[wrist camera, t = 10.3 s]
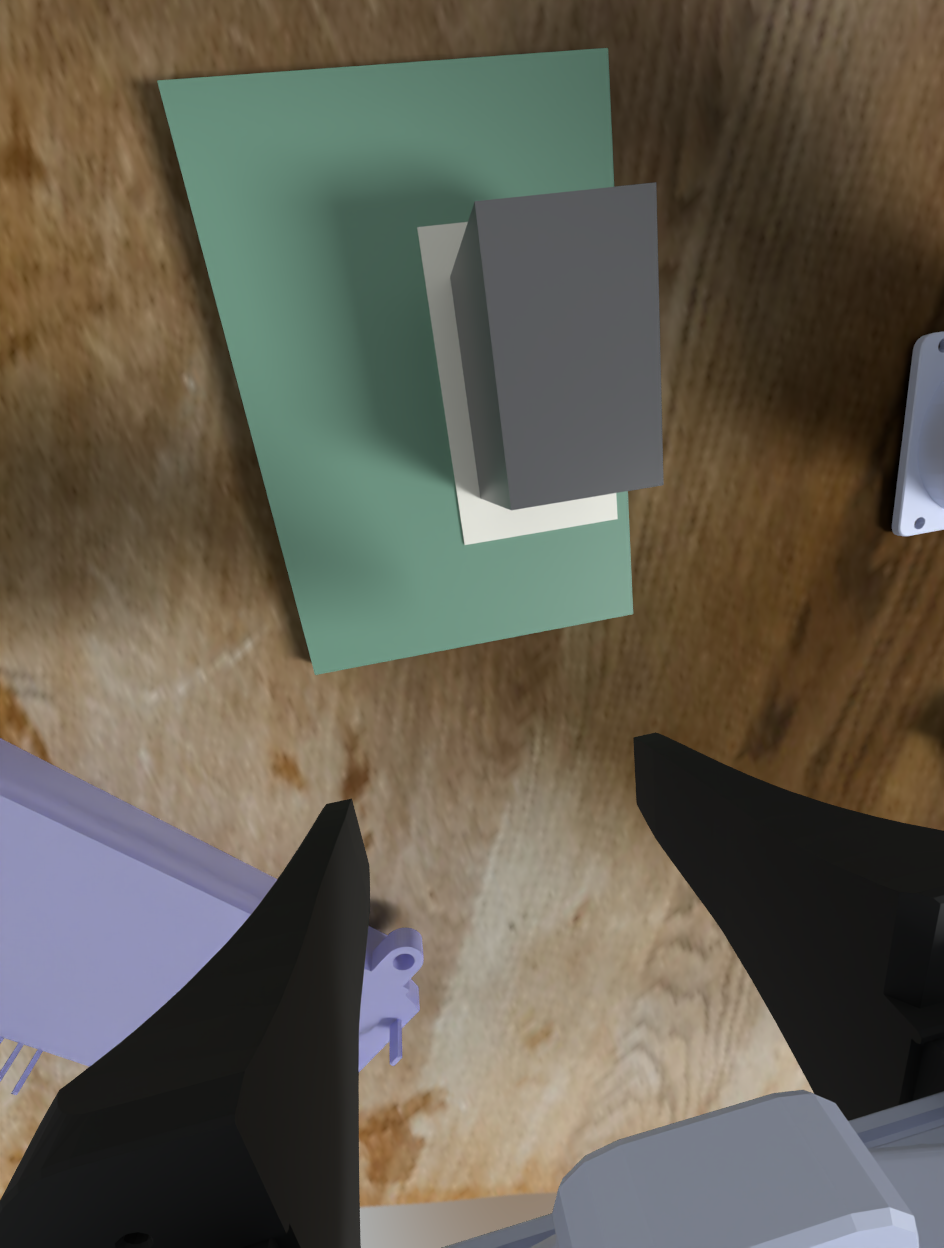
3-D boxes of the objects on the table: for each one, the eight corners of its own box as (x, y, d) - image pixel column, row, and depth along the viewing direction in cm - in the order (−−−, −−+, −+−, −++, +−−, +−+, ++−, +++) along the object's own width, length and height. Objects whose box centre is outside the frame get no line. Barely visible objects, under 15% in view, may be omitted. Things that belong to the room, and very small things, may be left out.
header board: (595, 71, 16) (653, -39, 13) (622, 607, 22) (668, 635, 18) (171, 105, 15) (102, -9, 11) (318, 665, 21) (303, 707, 17)
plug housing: (581, 261, 17) (656, 182, 12) (595, 479, 19) (663, 484, 14) (450, 277, 16) (474, 201, 12) (480, 498, 19) (511, 510, 14)
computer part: (283, 1104, 28) (457, 924, 26) (266, 1210, 24) (469, 1006, 22) (-403, 862, 19) (-214, 557, 17) (-614, 968, 15) (-398, 586, 13)
